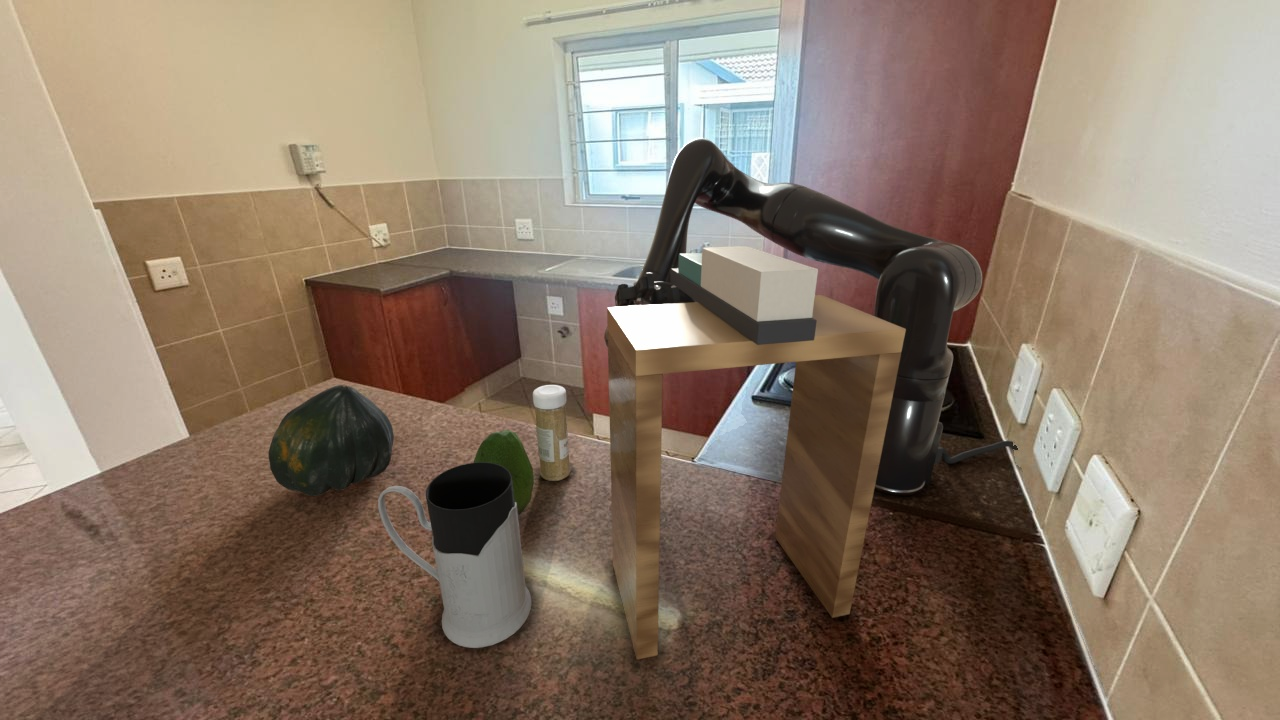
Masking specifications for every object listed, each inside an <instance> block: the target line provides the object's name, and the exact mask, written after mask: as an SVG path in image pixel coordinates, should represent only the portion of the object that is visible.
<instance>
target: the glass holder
mask: <svg viewBox="0 0 1280 720" xmlns="http://www.w3.org/2000/svg"><path fill="white" fill-rule="evenodd" d="M387 493H399V494H400V495H403V496H404V497H406V498H407V499H408V500H409V501H410V502H411V504H412V505H413V507H414V508H415V511H416V514H417V519H418V522H419V524H420V525H421V526H422V527H423V529H425V530H427V531H429V532H430V531H431V533H432V538H431V544H432V551H433V557H434V561H435V566H436V567H434V566H433V564H430V563H429V562H428V561H426V560H425V559H423V558H422V557H421V556H419V555H418V554H417V552H416V551H414V550H413V549H412V548H410V546H409V545H407V543H406V542H405V541H404V539H402V537H401V536H400V535H399V533H398V532H397V530H396V528H395V527H394V525H393V523H392V521H391V519H390V517H389V514H388V510H387V507H386V501H385V499H386V494H387ZM425 500H426V504H427V510H428V516H429V520H428V519H427V518H426V514H425V509H424V506H423V503H422V501H421V499H420V498H419V496H417V494H416V493H415V492H413V491H412V490H411V489H409V488H408V487H405V486H402V485H392V486H388V487H387V488H385V489H384V490H383V491H382V492H380V494H379V496H378V499H377V509H378V513H379V516H380V519H381V520H380V521H381V522H382V524H383V526H384V529H385V530H386V533H387V534H388V536H389V537H390V539H391V540H392V542H393V543H394V544H395V546H396V547H397V549H399V551H400V552H401V553H403V555H405V556H406V557H407V558H408V559H409V560H411V561H412V562H413V563H415V564H416V565H417V566H418V567H419V568H421V569H422V570H423V571H425V572H426V573H428V574H429V575H430V576H432V577H433V578H434V579H435V580H437V581H438V582H439V589H440V595H441V600H442V605H443V611H442V613H441V614H442V616H441V628H442V630H443V634H444V635H445V636H446V638H447V639H448V640H449V641H450V642H452V643H454V644H456V645H457V646H460V647H464V648H472V649H479V648H485V647H491V646H493V645H496V644H499V643H501V642H503V641H505V640H506V639H508V638H510V637H511V636H512V635H514V634H515V633H517V632H518V631H519V629H521V627H522V626H523V625H524V624H525V622H526V621H527V619H528V618H529V615H530V613H531V609H532V604H533V603H532V595H531V592H530V591H529V589H528V587H527V585H526V580H525V570H524V560H523V552H522V543H521V533H520V532H521V531H520V523H519V515H518V513H517V503H516V502H515V503H514V493H513V484H512V476H511V474H510V472H509V471H508V470H507V469H506V468H505V467H503V466H501V465H498V464H494V463H488V462H476V463H473V462H469V463H464V464H460V465H457V466H454V467H452V468H449V469H446V470H445V471H443V472H440V473H439V474H438V475H436V476H435V477H434V478H433V479H432V480H431V481H430V482H429V484H428V485H427V487H426V489H425Z"/></svg>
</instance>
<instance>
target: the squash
mask: <svg viewBox="0 0 1280 720" xmlns="http://www.w3.org/2000/svg"><path fill="white" fill-rule="evenodd" d="M394 435H395V433H394V428H393V425H392V423H391V420H390V419H389V417H388V416H387V414H386V413H385V412H384V411H383V410H381V408H380V407H378V406H377V405H376V403H374V401H372V400H371V399H369V398H368V397H367V396H365V395H364V394H362V393H360V391H358V390H357V389H355V388H354V387H352V386H349V385H347V384H339V385H334V386H332V387H329V388H327V389H325V390H323V391H321V392H319V393H317V394H316V395H313V396H312V397H310V398H309V399H307V400H306V401H304V402H303V403H301V404H300V405H298V406H296V407H294V408H293V409H291V410H289V412H287V413H286V414H285V415H284V417H283V418H282V419H281V421H280V422H279V425H278V427H277V428H276V430H275V432H274V434H273V436H272V438H271V442H270V445H269V449H268V462H269V469H270V471H271V474H272V475H273V476H274V479H275V480H276V482H277V483H278V484H280V486H281V487H283V488H284V489H287V490H289V491H292V492H299V493H301V494H303V495H305V496H310V497H315V496H321V495H324V494H326V493H327V492H329V491H330V490H331V489H333V490H335V491H343V490H344V491H345V490H347V489H348V488H349V487H350V486H351V485H356V484H359V483H362V482H364V481H365V480H368V479H370V478H374V477H376V476H379V475H381V474H382V473H384V471H386V470H387V468H388V466H389V465H390V464H391V460H392V454H393V445H394V439H395V436H394Z"/></svg>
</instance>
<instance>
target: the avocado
mask: <svg viewBox="0 0 1280 720" xmlns="http://www.w3.org/2000/svg"><path fill="white" fill-rule="evenodd" d="M476 462H488V463H494V464H498V465H501V466H503V467H505V468H506V469H507V470H508V471H509V472H510V474H511V476H512V484H513V493H514V503H515V502H516V503H517V513H518V516H519V515H521V514H522V513H523V512H524V511H525V510H526V508H527V506H528V505H529V504H530V502H531V499H532V495H533V490H534V485H535V479H534V469H533V465H532V463H531V461H530V458H529V456H528V454H527V451H526V448H525V447H524V444H523V443H522V440H521V439H520V438H519V436H518V434H517V433H516V432H514V431H511V430H509V429H505V430H499V431H494V432H491V433H490V434H488V435H487V436H486V437H485V438H484V440H482V442H481V443H480V445H479V447H478V449H477V450H476V454H475V456H474V459H473V462H472V463H476Z"/></svg>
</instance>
